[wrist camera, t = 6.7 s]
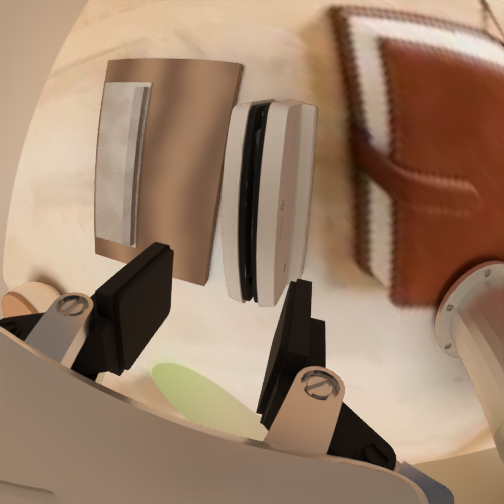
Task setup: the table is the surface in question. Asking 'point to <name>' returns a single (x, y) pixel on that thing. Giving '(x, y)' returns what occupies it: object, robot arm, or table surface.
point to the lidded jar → (29, 299)
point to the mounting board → (179, 158)
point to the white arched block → (267, 197)
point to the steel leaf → (121, 160)
